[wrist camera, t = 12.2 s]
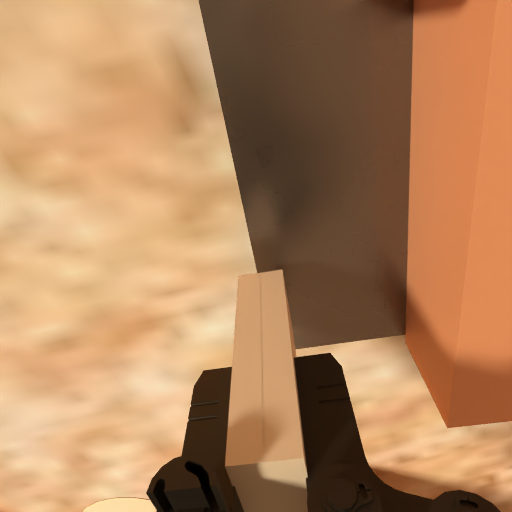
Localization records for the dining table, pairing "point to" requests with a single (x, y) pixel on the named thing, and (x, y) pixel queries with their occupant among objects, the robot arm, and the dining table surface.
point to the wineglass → (122, 505)
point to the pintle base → (322, 153)
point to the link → (461, 208)
